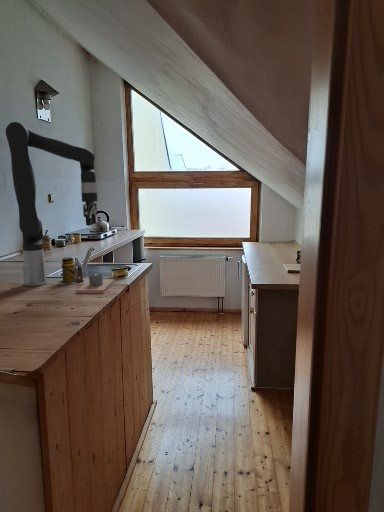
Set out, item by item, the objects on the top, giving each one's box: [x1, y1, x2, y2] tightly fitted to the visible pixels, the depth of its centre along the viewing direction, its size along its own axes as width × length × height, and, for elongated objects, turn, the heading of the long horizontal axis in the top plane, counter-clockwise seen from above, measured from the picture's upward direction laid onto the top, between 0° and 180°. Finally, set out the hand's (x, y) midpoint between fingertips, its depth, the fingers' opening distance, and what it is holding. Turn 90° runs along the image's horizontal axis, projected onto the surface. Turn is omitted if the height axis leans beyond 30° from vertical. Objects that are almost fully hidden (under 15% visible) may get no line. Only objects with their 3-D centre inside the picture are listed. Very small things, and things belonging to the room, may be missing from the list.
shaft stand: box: [76, 274, 115, 294], centre depth 169 cm, size 12×19×6 cm, turn 178°
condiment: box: [57, 257, 76, 285], centre depth 179 cm, size 7×8×12 cm
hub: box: [88, 272, 104, 286], centre depth 168 cm, size 6×6×5 cm
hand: (91, 224), depth 181 cm, fingers open, 8 cm apart
